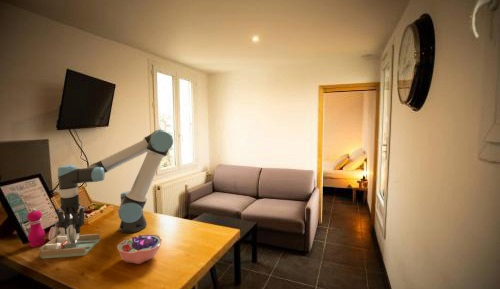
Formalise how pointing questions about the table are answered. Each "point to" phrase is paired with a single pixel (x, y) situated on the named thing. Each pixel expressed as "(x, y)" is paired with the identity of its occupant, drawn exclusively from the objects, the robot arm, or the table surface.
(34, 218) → the pepper mill
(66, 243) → the kicker rod
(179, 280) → the table surface
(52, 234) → the spread jar
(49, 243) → the beige tray
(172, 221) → the table surface
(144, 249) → the cell model
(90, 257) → the table surface
